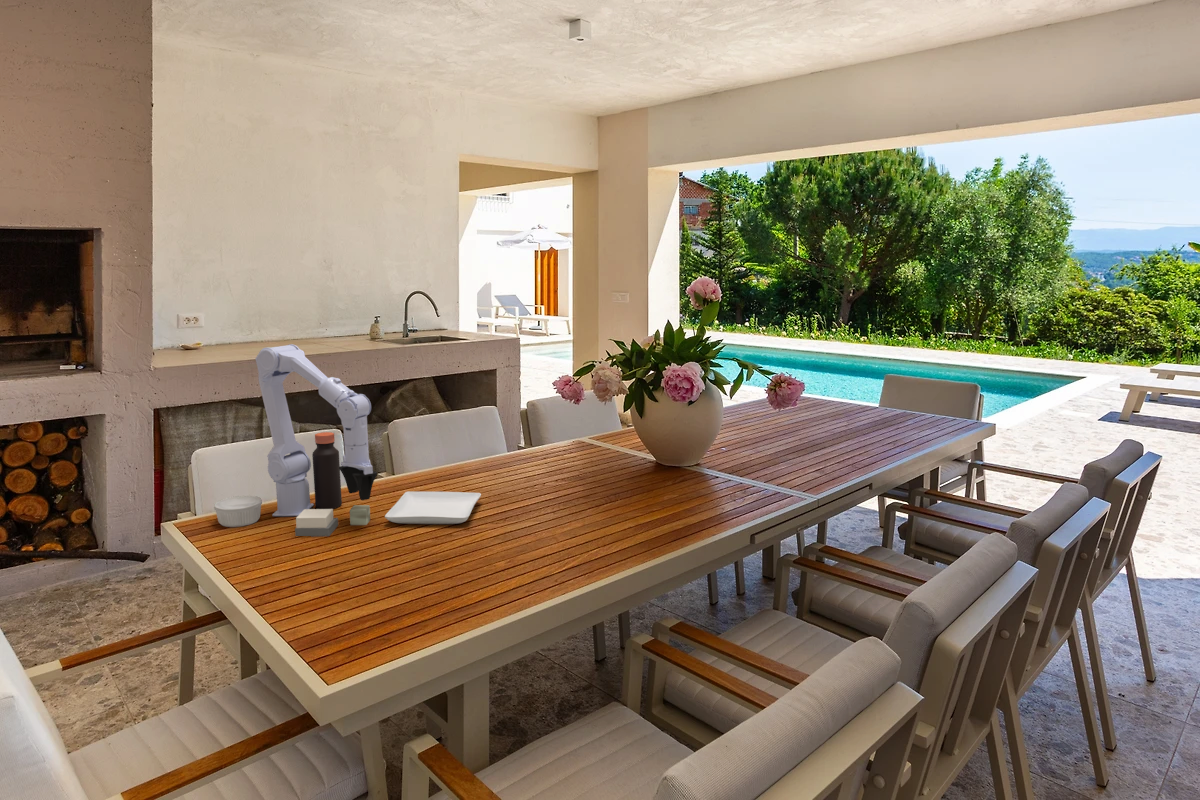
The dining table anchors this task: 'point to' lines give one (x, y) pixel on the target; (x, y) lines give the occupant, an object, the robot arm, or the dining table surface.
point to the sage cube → (360, 515)
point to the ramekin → (238, 510)
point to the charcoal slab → (317, 530)
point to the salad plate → (433, 507)
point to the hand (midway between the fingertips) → (359, 496)
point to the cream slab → (314, 518)
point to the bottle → (326, 472)
